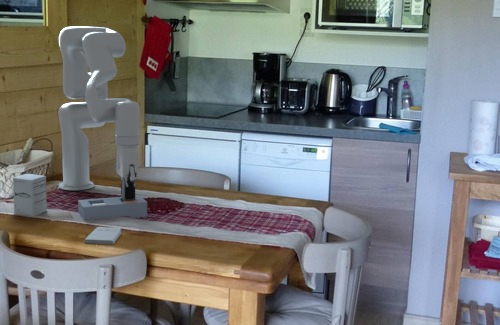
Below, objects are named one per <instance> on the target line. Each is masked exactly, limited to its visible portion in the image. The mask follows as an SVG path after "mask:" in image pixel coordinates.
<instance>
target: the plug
mask: <svg viewBox="0 0 500 325" xmlns="http://www.w3.org/2000/svg"><path fill="white" fill-rule="evenodd" d="M127 177H130V175H128V176H127ZM129 180H130V179H128V181H129ZM125 187H126V181H125V178H122V195H121V197H122V202H124V201H134V200H135V199H125Z"/></svg>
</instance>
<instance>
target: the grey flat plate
mask: <svg viewBox="0 0 500 325" xmlns="http://www.w3.org/2000/svg"><path fill="white" fill-rule="evenodd" d="M46 216H47V217H48V219H49V220H50V221H51V222H54V221H55V222H56V221H68V220H75V218H74V216H73V214H72V213H71V212H70V211H67V212H58V213H57V212H56V213H55V212H54V213H46Z"/></svg>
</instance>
